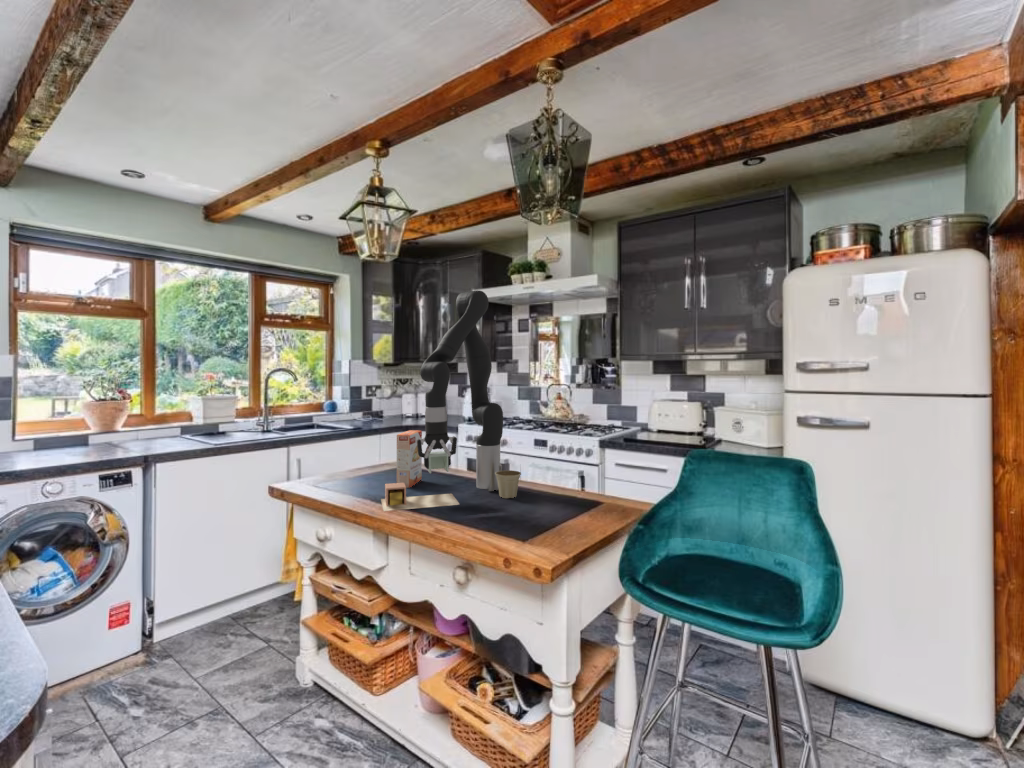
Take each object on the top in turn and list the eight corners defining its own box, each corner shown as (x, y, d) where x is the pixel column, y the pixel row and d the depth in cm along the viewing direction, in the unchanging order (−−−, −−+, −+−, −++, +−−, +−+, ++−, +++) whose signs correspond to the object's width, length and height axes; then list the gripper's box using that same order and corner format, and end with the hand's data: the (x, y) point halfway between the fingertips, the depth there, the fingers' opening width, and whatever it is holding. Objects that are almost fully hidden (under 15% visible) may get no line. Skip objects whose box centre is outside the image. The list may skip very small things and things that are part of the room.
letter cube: (401, 501, 178) (400, 489, 177) (402, 504, 174) (402, 492, 174) (389, 502, 176) (388, 490, 176) (390, 505, 172) (389, 492, 172)
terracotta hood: (404, 499, 179) (403, 482, 179) (406, 504, 173) (405, 486, 173) (385, 501, 177) (385, 483, 177) (386, 506, 171) (386, 488, 171)
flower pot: (522, 493, 192) (522, 470, 191) (520, 500, 182) (520, 476, 182) (497, 492, 192) (497, 469, 192) (493, 499, 183) (493, 475, 183)
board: (451, 496, 188) (451, 493, 188) (460, 507, 173) (460, 504, 173) (380, 501, 180) (380, 499, 180) (383, 514, 166) (383, 511, 166)
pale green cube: (445, 467, 183) (444, 451, 183) (448, 471, 177) (448, 454, 177) (427, 469, 181) (426, 452, 181) (429, 473, 175) (429, 455, 175)
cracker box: (410, 489, 198) (410, 434, 197) (395, 488, 199) (395, 434, 198) (422, 480, 212) (422, 429, 211) (408, 480, 213) (408, 429, 212)
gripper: (454, 417, 184) (455, 463, 185) (413, 419, 179) (415, 467, 180) (459, 419, 177) (460, 468, 178) (416, 422, 172) (418, 471, 173)
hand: (437, 467), depth 179 cm, fingers closed on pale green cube, 6 cm apart
